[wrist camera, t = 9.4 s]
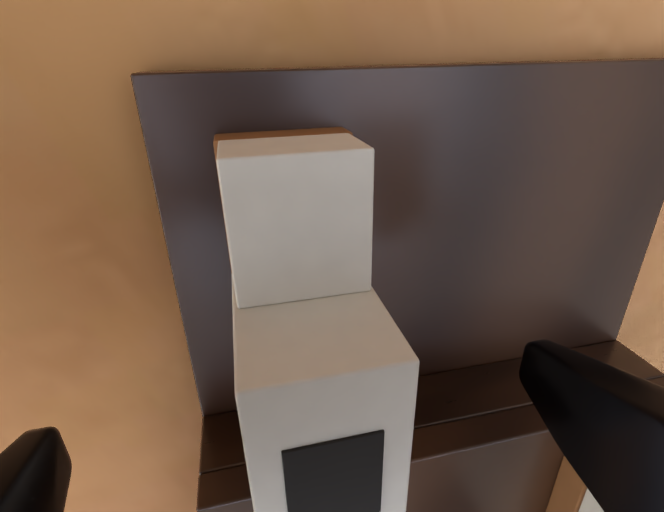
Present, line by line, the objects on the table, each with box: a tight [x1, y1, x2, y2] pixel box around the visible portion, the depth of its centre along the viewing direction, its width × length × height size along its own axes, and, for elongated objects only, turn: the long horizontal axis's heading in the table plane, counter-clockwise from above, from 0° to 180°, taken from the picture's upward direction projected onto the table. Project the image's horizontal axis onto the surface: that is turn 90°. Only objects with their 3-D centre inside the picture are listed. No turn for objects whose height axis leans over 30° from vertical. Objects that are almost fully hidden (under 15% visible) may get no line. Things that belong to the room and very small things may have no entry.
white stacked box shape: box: [213, 127, 419, 512], centre depth 9 cm, size 7×3×5 cm, turn 1°
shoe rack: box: [131, 58, 664, 512], centre depth 12 cm, size 15×19×6 cm
